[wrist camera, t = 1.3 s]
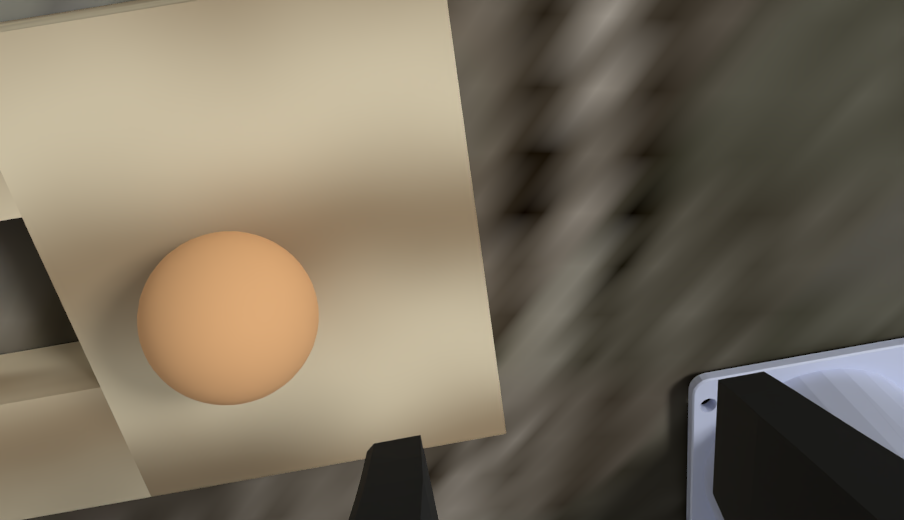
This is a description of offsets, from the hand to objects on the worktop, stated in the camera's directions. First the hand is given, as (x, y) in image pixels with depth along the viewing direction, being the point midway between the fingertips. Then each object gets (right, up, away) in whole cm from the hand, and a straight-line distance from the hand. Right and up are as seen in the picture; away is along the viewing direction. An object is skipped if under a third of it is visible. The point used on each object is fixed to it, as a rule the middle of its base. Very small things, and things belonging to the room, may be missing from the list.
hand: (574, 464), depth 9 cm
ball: (-6, +1, +5) cm, 8 cm away
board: (-11, +3, +9) cm, 15 cm away
